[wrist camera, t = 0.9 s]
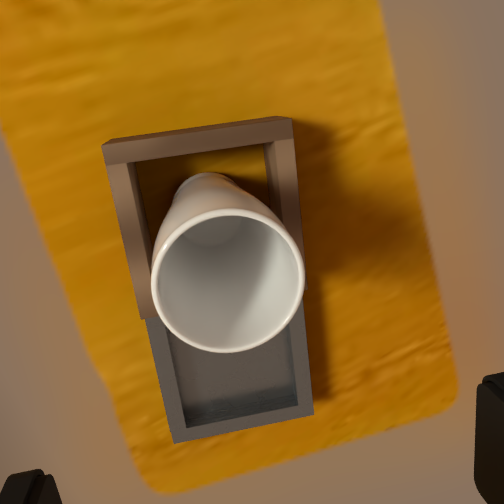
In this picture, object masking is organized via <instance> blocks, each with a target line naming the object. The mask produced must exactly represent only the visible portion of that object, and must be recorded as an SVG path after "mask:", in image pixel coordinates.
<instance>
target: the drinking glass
mask: <svg viewBox="0 0 504 504" xmlns="http://www.w3.org/2000/svg"><path fill="white" fill-rule="evenodd" d="M304 287H305V269H304V263H303V259H302V256H301V253H300V251H299V248H298V246H297V244H296V243H295V241H294V240H293V238H292V237H291V235H290V233H289V232H288V230H287V229H286V227H285V226H284V224H283V223H282V222H281V221H280V219H279V218H278V217H277V216H276V215H275V214H274V212H273V211H272V210H271V209H270V208H269V207H267V206H266V205H265V204H264V203H263V202H261V201H260V200H259V199H257V198H256V197H254V196H253V195H251V194H250V193H248V192H246V191H245V190H243V189H242V188H240V187H239V186H238V185H237V184H236V183H235V182H234V181H233V180H231V179H230V178H228V177H226V176H224V175H222V174H218V173H212V172H206V173H200V174H196V175H194V176H192V177H190V178H188V179H187V180H185V181H184V182H183V183H182V184H181V185H180V186H179V188H178V189H177V191H176V192H175V194H174V197H173V200H172V204H171V207H170V209H169V211H168V212H167V214H166V216H165V218H164V220H163V222H162V224H161V226H160V229H159V231H158V234H157V237H156V241H155V244H154V249H153V255H152V265H151V292H152V298H153V302H154V305H155V308H156V310H157V312H158V314H159V316H160V318H161V320H162V321H163V323H164V324H165V325H166V326H167V328H168V329H169V330H170V331H171V332H172V333H173V334H174V335H176V336H177V337H178V338H179V339H181V340H182V341H184V342H185V343H187V344H189V345H191V346H193V347H196V348H198V349H202V350H205V351H210V352H217V353H233V352H240V351H245V350H248V349H251V348H254V347H257V346H259V345H261V344H263V343H265V342H267V341H269V340H270V339H272V338H273V337H274V336H276V335H277V334H278V333H279V332H280V331H282V330H283V329H284V328H285V326H286V325H287V324H288V323H289V322H290V320H291V319H292V318H293V316H294V315H295V313H296V311H297V309H298V307H299V305H300V302H301V300H302V296H303V292H304Z"/></svg>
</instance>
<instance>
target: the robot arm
mask: <svg viewBox="0 0 504 504" xmlns="http://www.w3.org/2000/svg"><path fill="white" fill-rule="evenodd" d="M474 458H475V459H474V481H475V484H476V487H477V489H478V491H479V493H480V495H481V496H482V497H483V498H484V500H485V501H486V502H487V504H504V372H501V373H497V374H492V375H487V376H485V377H484V378H483V380H482V384H479V385H478V387H477V398H476V428H475V457H474ZM0 504H62V501H61V498H60V495H59V492H58V489H57V487H56V483H55V480H54V478H53V476H52V475H51V474H48V475H44V472H43V471H42V470H41V469H35V470H31V471H26V472H21V473H17V474H12V475H10V476H9V477H8V478H7V480H6V482H5V484H4V486H3V489H2V491H1V493H0Z"/></svg>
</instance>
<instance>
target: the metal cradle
mask: <svg viewBox="0 0 504 504" xmlns="http://www.w3.org/2000/svg"><path fill="white" fill-rule="evenodd" d="M145 322H146V326H147V330H148V335H149V339H150V344H151V348H152V353H153V357H154V361H155V366H156V370H157V375H158V379H159V384H160V388H161V393H162V397H163V401H164V406H165V410H166V415H167V419H168V424H169V428H170V432H171V433H172V438H173V442H174V444H176V443H180V442H185V441H190V440H195V439H200V438H204V437H209V436H214V435H219V434H224V433H229V432H233V431H238V430H243V429H248V428H253V427H257V426H262V425H267V424H272V423H277V422H282V421H286V420H291V419H296V418H301V417H306V416H310V415H314V409H313V399H312V388H311V378H310V368H309V358H308V348H307V338H306V328H305V318H304V308H303V298H302V300H301V302H300V305H299V307H298V309H297V311H296V313H295V315H294V316H293V318H292V319H291V320H290V322H289V323H288V324H287V325H286V326H285V328H284V329H283V330H282V331H280V332H279V333H278V334H277V335H276V336H274V337H273V338H272V339H270V340H269V341H267V342H265V343H263V344H261V345H259V346H257V347H254V348H251V349H248V350H245V351H240V352H233V353H217V352H210V351H205V350H202V349H198V348H196V347H193V346H191V345H189V344H187V343H185V342H184V341H182V340H181V339H179V338H178V337H177V336H176V335H174V334H173V333H172V332H171V331H170V330H169V329H168V328H167V326H166V325H165V324H164V323H163V321H162V320H161V318H160V316H158V317H152V318H147V319H145Z"/></svg>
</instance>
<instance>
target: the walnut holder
mask: <svg viewBox="0 0 504 504" xmlns="http://www.w3.org/2000/svg"><path fill="white" fill-rule="evenodd" d="M259 143H263V148H264V156H265V165H266V174H267V182H268V191H269V200H270V208H271V210H272V211H273V212H274V214H275V215H276V216H277V217H278V218H279V219H280V221H281V222H282V223H283V224H284V226H285V227H286V229H287V230H288V232H289V233H290V235H291V237H292V238H293V240H294V241H295V243H296V244H297V246H298V248H299V251H300V253H301V256H302V259H303V263H304V269H305V287H304V290H308V286H307V276H306V265H305V254H304V244H303V233H302V223H301V212H300V202H299V191H298V180H297V170H296V159H295V149H294V138H293V127H292V118H286V117H281V116H272V117H265V118H258V119H251V120H244V121H237V122H230V123H222V124H215V125H208V126H201V127H194V128H187V129H180V130H173V131H165V132H158V133H151V134H144V135H137V136H130V137H123V138H116V139H111V140H109V141H108V142H106V143H104V144H103V145H101V147H102V151H103V156H104V160H105V164H106V169H107V173H108V178H109V182H110V186H111V191H112V195H113V199H114V204H115V208H116V213H117V217H118V221H119V226H120V230H121V234H122V239H123V243H124V248H125V252H126V256H127V261H128V265H129V269H130V274H131V278H132V283H133V287H134V291H135V296H136V300H137V304H138V309H139V313H140V318H141V319H147V318H152V317H158V316H159V314H158V312H157V310H156V308H155V305H154V302H153V298H152V292H151V265H152V255H153V247H152V242H151V238H150V233H149V228H148V223H147V218H146V214H145V209H144V204H143V199H142V194H141V189H140V185H139V180H138V175H137V170H136V165H135V162H136V161H143V160H150V159H157V158H163V157H170V156H177V155H184V154H191V153H198V152H205V151H211V150H218V149H225V148H232V147H239V146H246V145H253V144H259Z"/></svg>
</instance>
